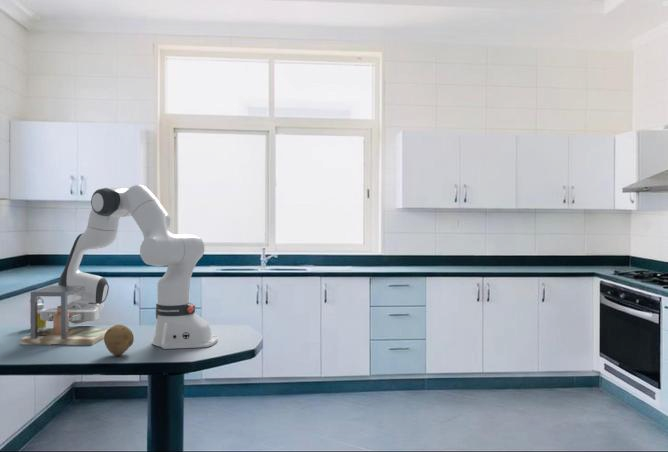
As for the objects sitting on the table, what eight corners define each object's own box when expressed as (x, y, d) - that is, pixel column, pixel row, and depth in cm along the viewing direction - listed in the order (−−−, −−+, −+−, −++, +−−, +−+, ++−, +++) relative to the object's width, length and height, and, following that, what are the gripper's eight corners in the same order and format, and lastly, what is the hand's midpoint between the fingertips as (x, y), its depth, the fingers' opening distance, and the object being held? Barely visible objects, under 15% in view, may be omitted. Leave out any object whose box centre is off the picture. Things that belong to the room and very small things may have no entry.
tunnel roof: (85, 329, 195) (85, 285, 195) (65, 339, 180) (65, 292, 180) (53, 328, 195) (53, 285, 195) (30, 338, 180) (30, 291, 180)
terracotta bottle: (71, 331, 191) (71, 305, 191) (64, 335, 186) (64, 307, 186) (57, 331, 191) (57, 305, 190) (50, 335, 186) (50, 307, 186)
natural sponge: (116, 350, 174) (116, 321, 174) (139, 352, 172) (139, 322, 172) (98, 357, 166) (97, 326, 165) (121, 360, 163) (121, 328, 163)
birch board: (111, 333, 197) (111, 328, 197) (92, 344, 181) (92, 338, 181) (45, 333, 196) (45, 327, 196) (20, 344, 180) (20, 338, 180)
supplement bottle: (39, 330, 201) (38, 305, 201) (27, 329, 202) (27, 305, 202) (49, 327, 206) (49, 303, 206) (37, 326, 207) (37, 302, 207)
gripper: (51, 303, 201) (31, 310, 187) (104, 303, 201) (87, 310, 187) (51, 319, 201) (31, 327, 187) (104, 319, 201) (88, 327, 188)
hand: (60, 319), depth 187 cm, fingers open, 6 cm apart
